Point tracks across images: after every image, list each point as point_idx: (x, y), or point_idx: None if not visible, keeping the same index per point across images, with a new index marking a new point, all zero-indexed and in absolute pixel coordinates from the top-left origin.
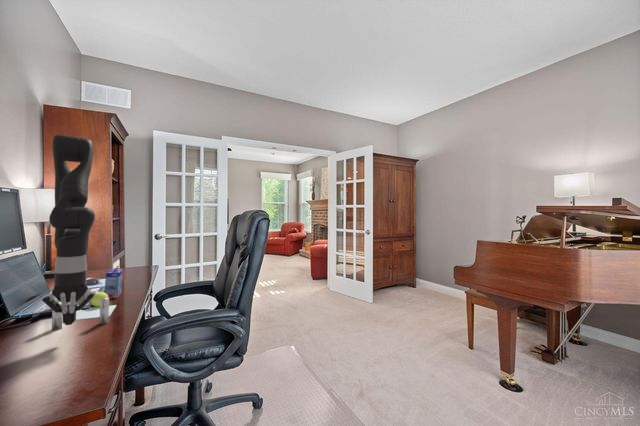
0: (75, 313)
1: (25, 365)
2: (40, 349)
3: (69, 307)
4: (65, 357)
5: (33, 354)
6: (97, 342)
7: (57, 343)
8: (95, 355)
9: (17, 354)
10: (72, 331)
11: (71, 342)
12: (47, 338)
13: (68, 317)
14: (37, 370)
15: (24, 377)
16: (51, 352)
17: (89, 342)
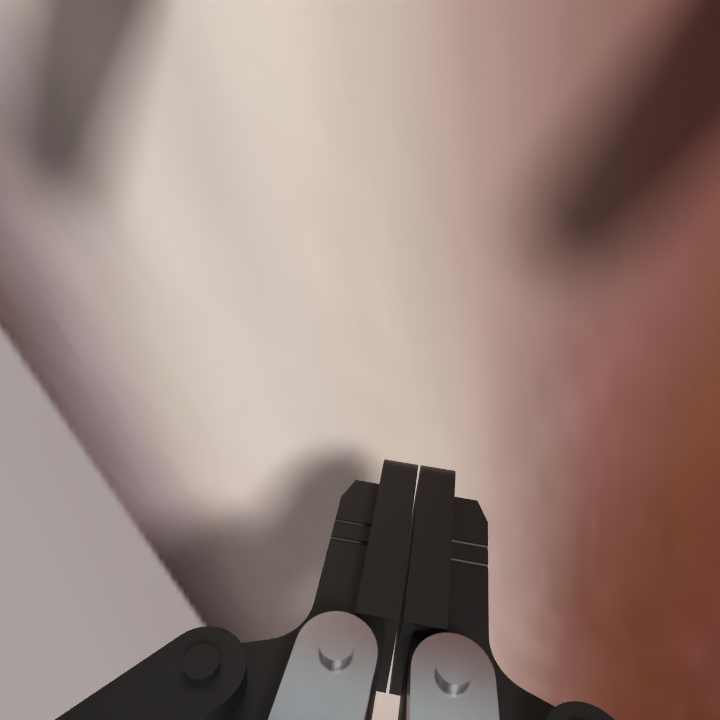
0: (481, 633)
1: (264, 606)
2: (254, 431)
3: (364, 711)
4: None
5: (243, 491)
6: (671, 528)
7: (348, 374)
8: (625, 692)
9: (132, 436)
10: (430, 37)
11: (463, 415)
12: (204, 172)
13: (397, 629)
14: None
15: None
16: None
17: (609, 495)
